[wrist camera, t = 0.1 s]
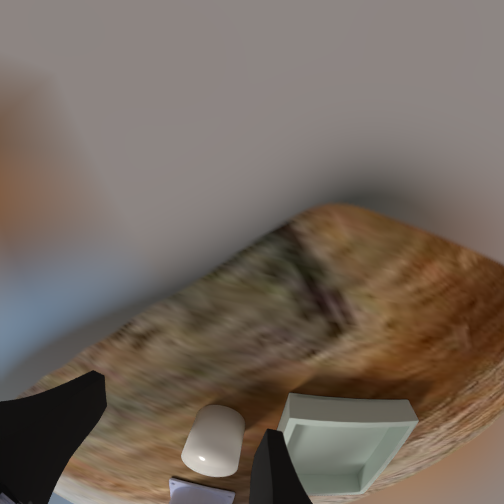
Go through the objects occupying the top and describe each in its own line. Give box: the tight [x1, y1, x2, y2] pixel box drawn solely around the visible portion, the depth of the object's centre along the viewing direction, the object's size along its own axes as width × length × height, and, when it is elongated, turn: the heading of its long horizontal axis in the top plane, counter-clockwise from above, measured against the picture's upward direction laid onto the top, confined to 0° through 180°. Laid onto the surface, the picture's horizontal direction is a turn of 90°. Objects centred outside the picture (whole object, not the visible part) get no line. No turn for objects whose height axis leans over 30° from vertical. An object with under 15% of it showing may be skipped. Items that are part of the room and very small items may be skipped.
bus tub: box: [277, 393, 419, 496], centre depth 20 cm, size 12×11×3 cm
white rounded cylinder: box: [181, 405, 245, 477], centre depth 20 cm, size 4×4×5 cm
